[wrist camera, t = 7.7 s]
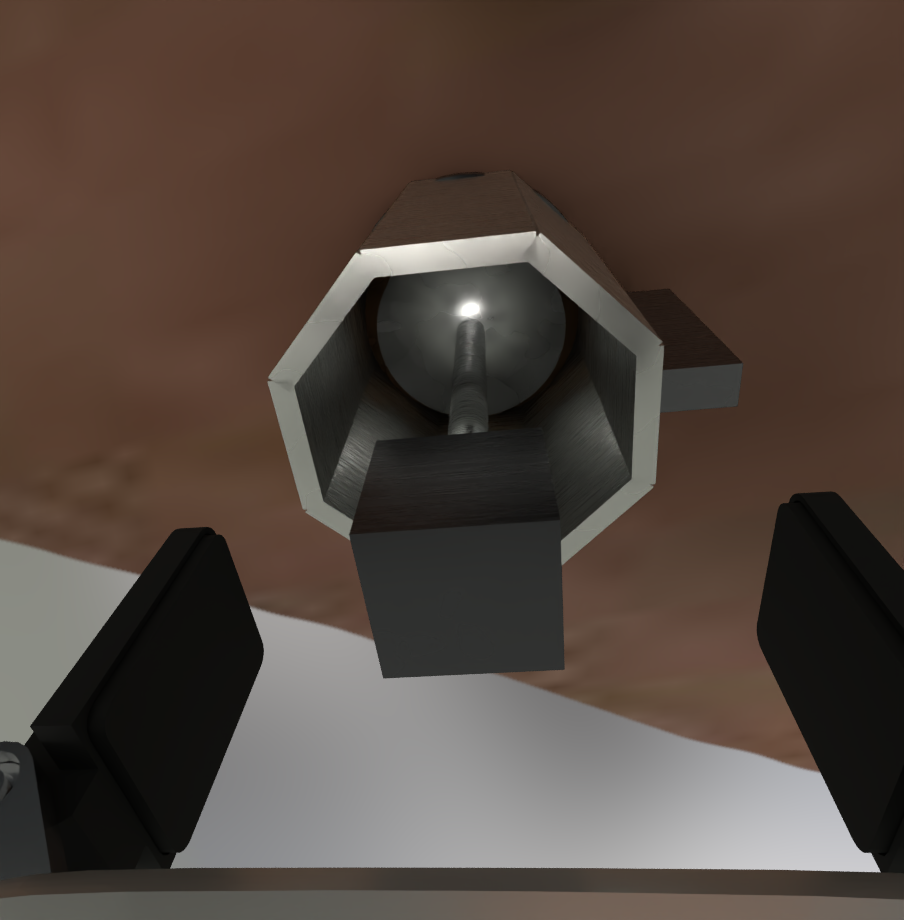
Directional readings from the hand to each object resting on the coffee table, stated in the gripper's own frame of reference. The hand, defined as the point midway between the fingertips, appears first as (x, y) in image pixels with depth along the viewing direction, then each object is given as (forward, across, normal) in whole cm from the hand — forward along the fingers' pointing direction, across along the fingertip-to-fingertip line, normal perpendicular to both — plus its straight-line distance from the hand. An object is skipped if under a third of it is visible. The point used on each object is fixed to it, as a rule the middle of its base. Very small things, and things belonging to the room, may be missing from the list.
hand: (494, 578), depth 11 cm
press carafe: (+17, 0, 0) cm, 17 cm away
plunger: (+14, +1, 0) cm, 14 cm away
